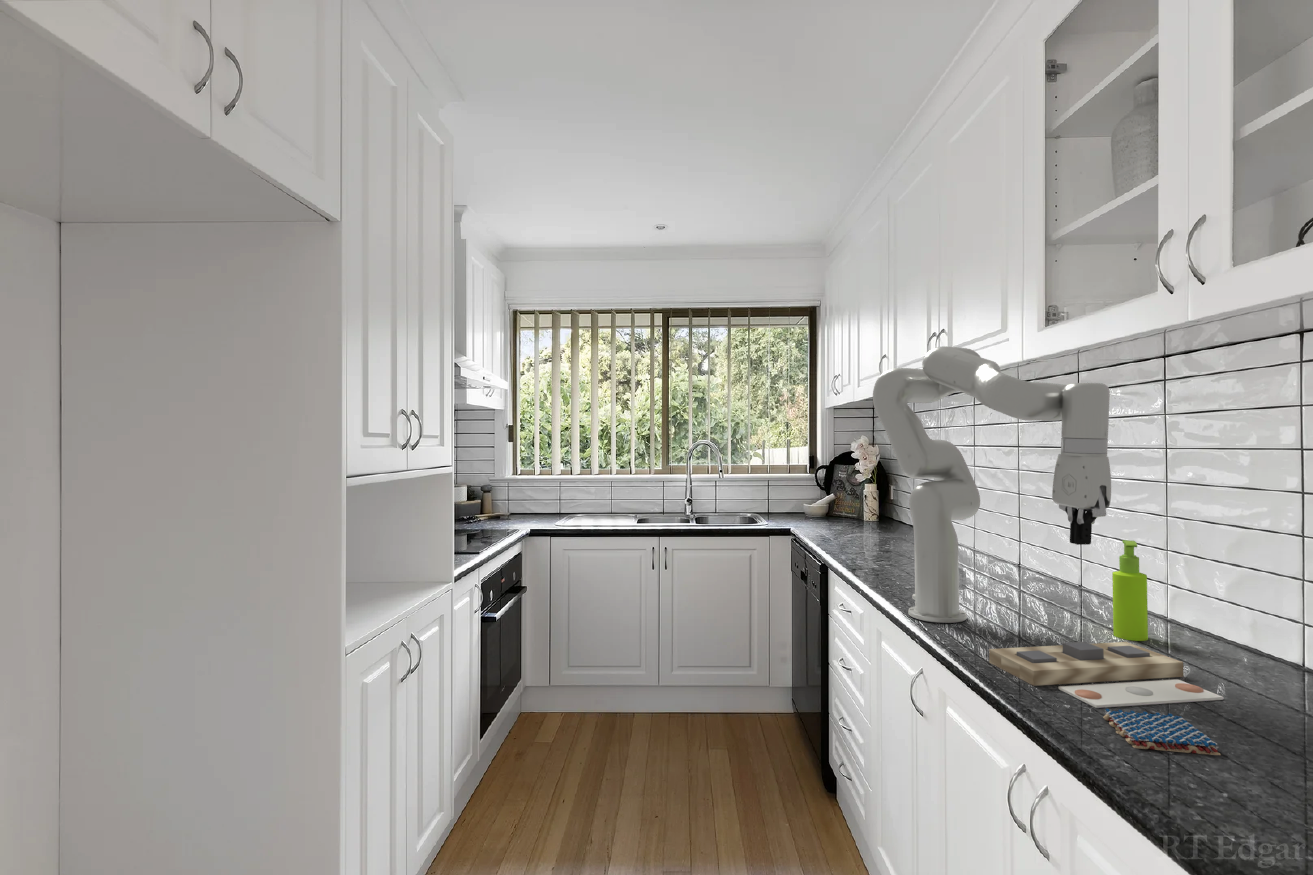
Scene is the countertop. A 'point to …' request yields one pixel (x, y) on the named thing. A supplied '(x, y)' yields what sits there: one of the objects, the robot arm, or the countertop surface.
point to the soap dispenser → (1130, 597)
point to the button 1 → (1036, 656)
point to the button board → (1085, 666)
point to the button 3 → (1128, 651)
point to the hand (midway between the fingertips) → (1080, 543)
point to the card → (1139, 693)
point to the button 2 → (1083, 651)
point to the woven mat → (1160, 732)
